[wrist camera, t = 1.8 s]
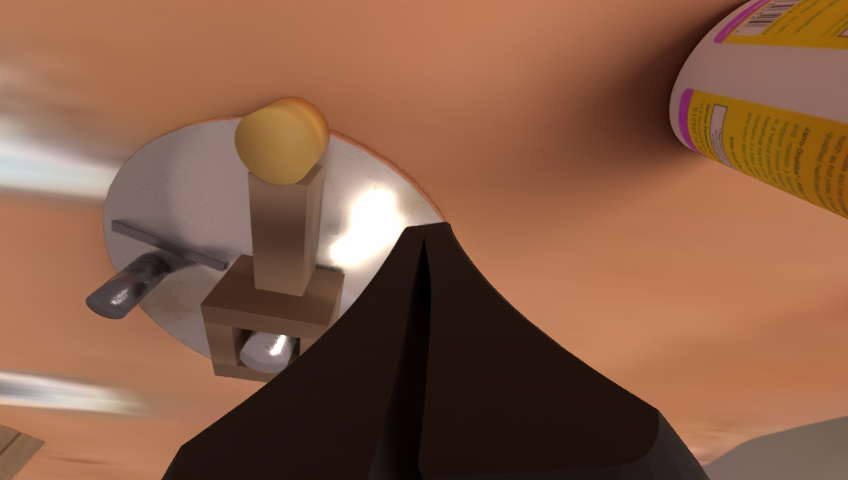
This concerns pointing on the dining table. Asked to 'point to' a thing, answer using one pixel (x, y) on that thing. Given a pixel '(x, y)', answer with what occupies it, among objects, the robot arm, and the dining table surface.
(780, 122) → the supplement bottle
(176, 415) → the dining table surface
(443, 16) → the dining table surface
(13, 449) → the block tower
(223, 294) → the knob-topped wooden stand
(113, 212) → the plate
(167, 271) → the dowel
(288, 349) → the post
